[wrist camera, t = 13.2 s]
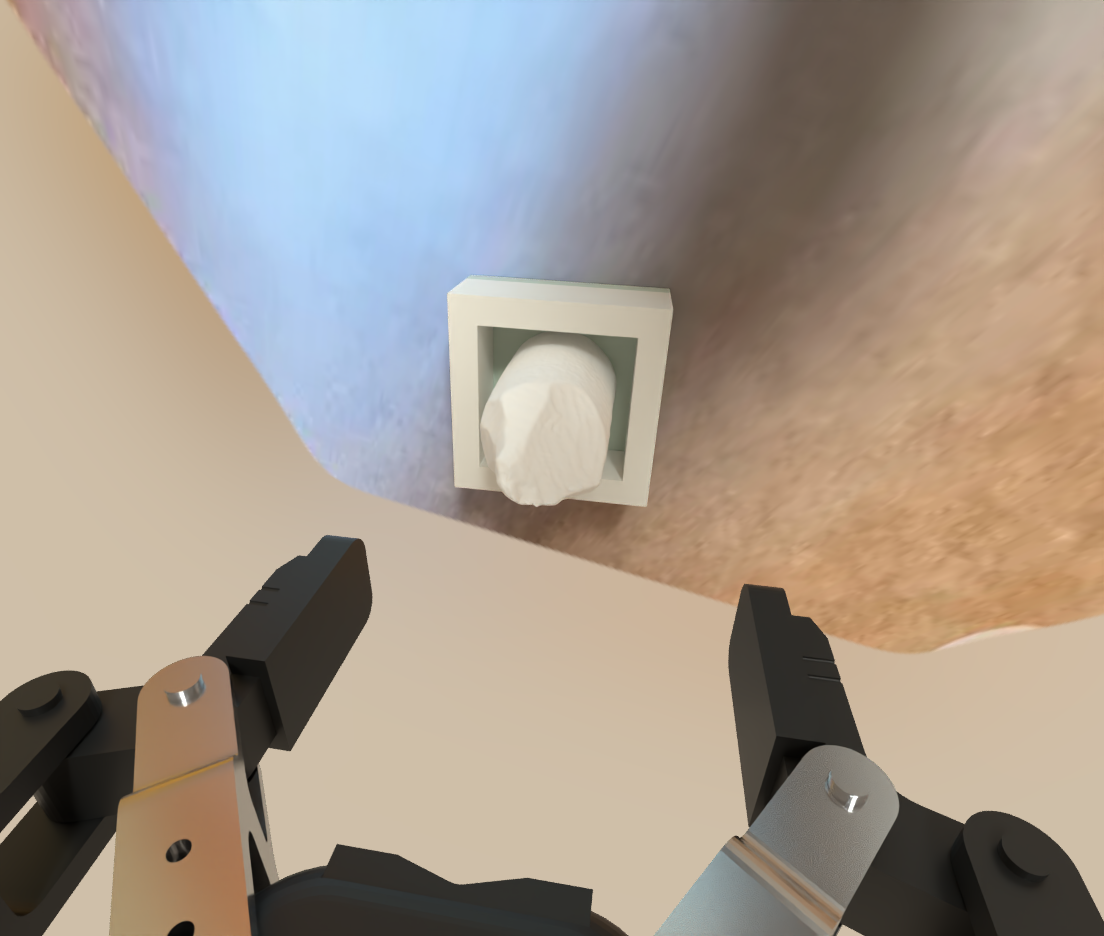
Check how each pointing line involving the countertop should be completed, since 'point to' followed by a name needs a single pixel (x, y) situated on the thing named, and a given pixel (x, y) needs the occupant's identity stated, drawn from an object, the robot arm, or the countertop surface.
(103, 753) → the robot arm
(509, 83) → the countertop surface
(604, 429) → the roll
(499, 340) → the socket
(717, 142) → the countertop surface
